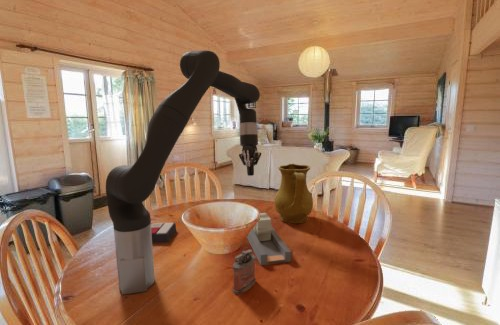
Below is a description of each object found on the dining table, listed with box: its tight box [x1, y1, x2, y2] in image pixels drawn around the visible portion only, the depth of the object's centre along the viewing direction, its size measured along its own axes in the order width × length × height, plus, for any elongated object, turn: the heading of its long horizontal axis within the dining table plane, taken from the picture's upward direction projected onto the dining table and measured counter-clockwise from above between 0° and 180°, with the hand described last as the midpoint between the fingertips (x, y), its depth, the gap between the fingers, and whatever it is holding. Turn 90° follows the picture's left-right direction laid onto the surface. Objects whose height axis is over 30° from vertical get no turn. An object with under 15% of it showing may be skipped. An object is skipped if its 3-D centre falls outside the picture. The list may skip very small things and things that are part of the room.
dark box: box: [151, 222, 177, 244], centre depth 105 cm, size 11×4×15 cm
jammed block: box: [253, 212, 272, 241], centre depth 101 cm, size 7×5×8 cm
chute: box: [246, 225, 292, 266], centre depth 99 cm, size 28×10×4 cm, turn 13°
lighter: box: [232, 249, 257, 295], centre depth 73 cm, size 8×3×10 cm, turn 141°
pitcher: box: [274, 163, 314, 224], centre depth 120 cm, size 17×19×25 cm
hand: (250, 175), depth 113 cm, fingers closed
